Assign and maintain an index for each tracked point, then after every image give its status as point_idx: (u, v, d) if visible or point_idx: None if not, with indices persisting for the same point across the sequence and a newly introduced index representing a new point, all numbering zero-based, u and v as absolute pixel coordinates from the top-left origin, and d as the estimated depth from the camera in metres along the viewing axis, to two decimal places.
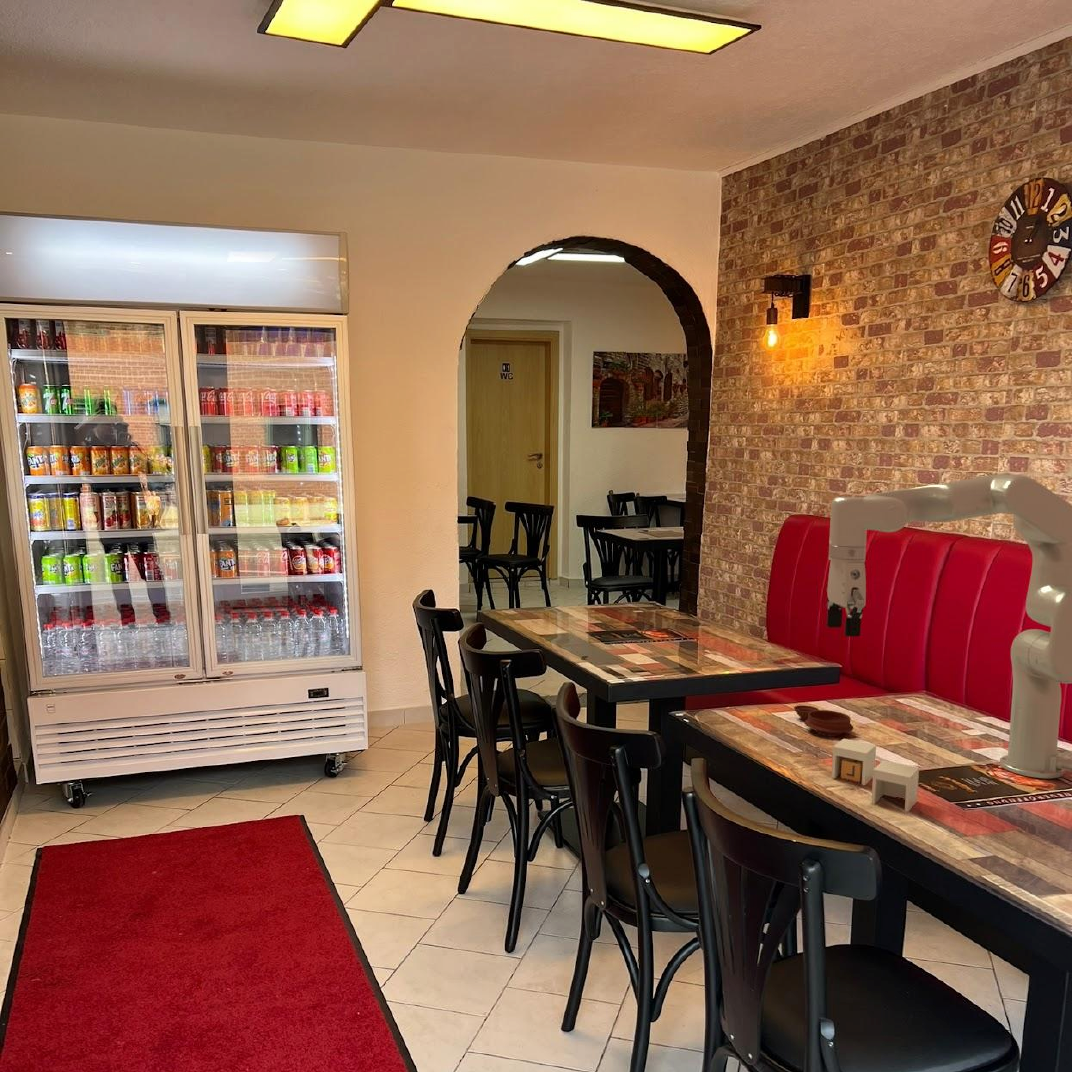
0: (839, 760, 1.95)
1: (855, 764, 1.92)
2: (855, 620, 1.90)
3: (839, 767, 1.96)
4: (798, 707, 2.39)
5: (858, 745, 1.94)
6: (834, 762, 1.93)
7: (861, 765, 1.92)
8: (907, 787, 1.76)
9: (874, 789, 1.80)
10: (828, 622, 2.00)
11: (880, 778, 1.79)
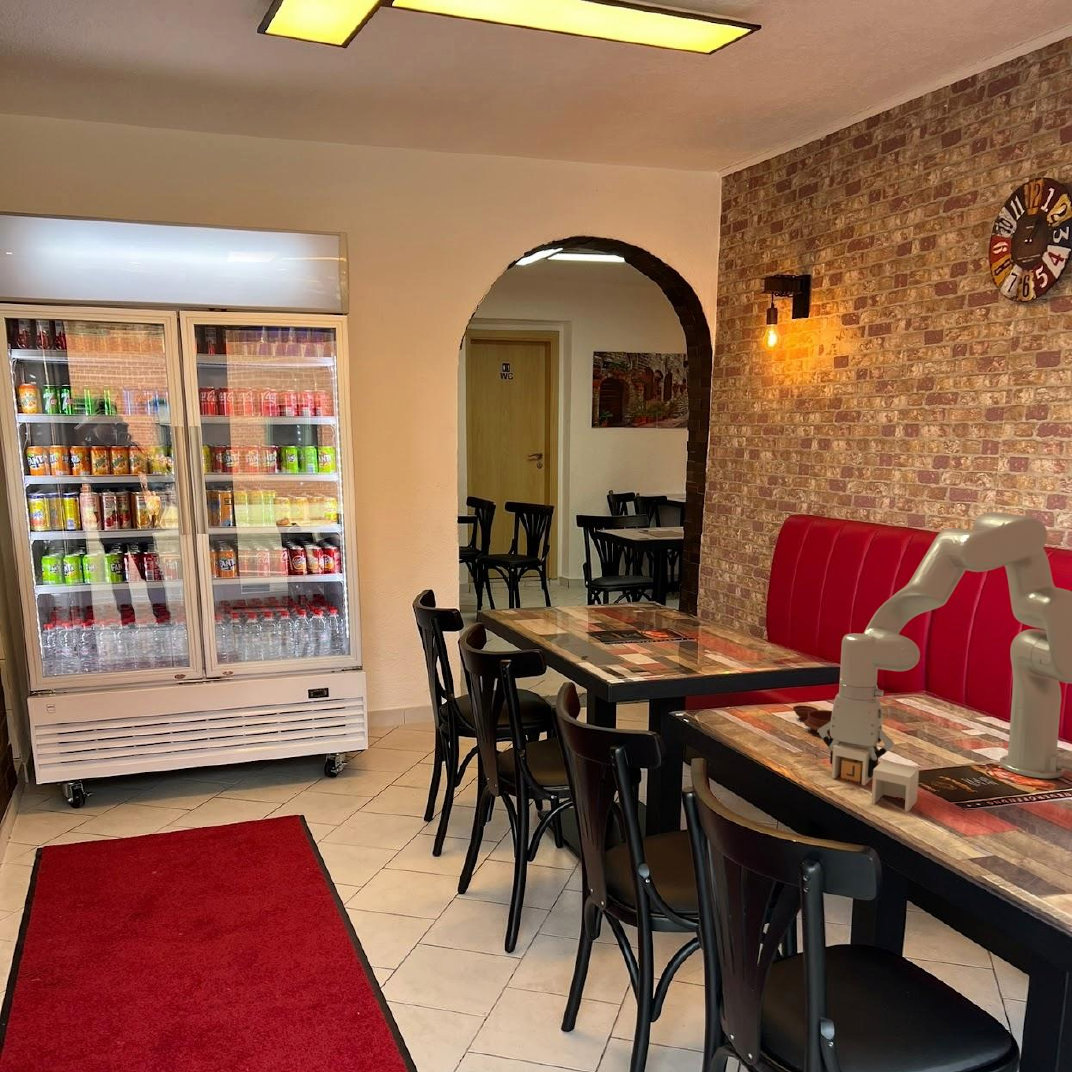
0: (838, 760, 1.95)
1: (855, 764, 1.92)
2: (877, 760, 1.91)
3: (839, 767, 1.96)
4: (797, 707, 2.39)
5: (858, 746, 1.94)
6: (834, 762, 1.93)
7: (861, 765, 1.92)
8: (907, 787, 1.76)
9: (874, 789, 1.80)
10: None
11: (880, 778, 1.79)
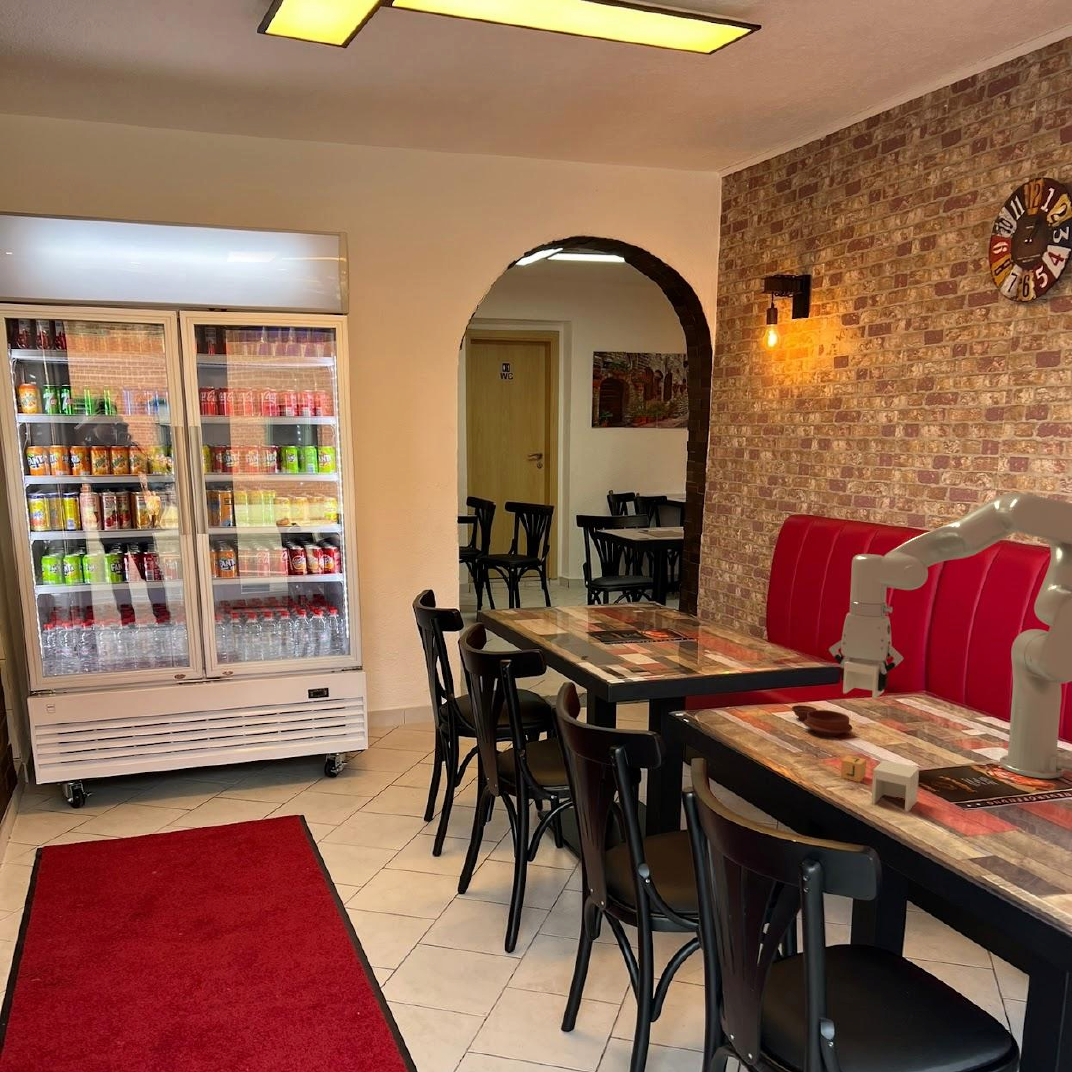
0: (849, 676, 2.03)
1: (855, 764, 1.92)
2: (886, 675, 2.00)
3: (850, 683, 2.04)
4: (796, 707, 2.39)
5: (868, 662, 2.02)
6: (845, 677, 2.01)
7: (862, 765, 1.92)
8: (907, 787, 1.76)
9: (874, 789, 1.80)
10: None
11: (880, 778, 1.79)
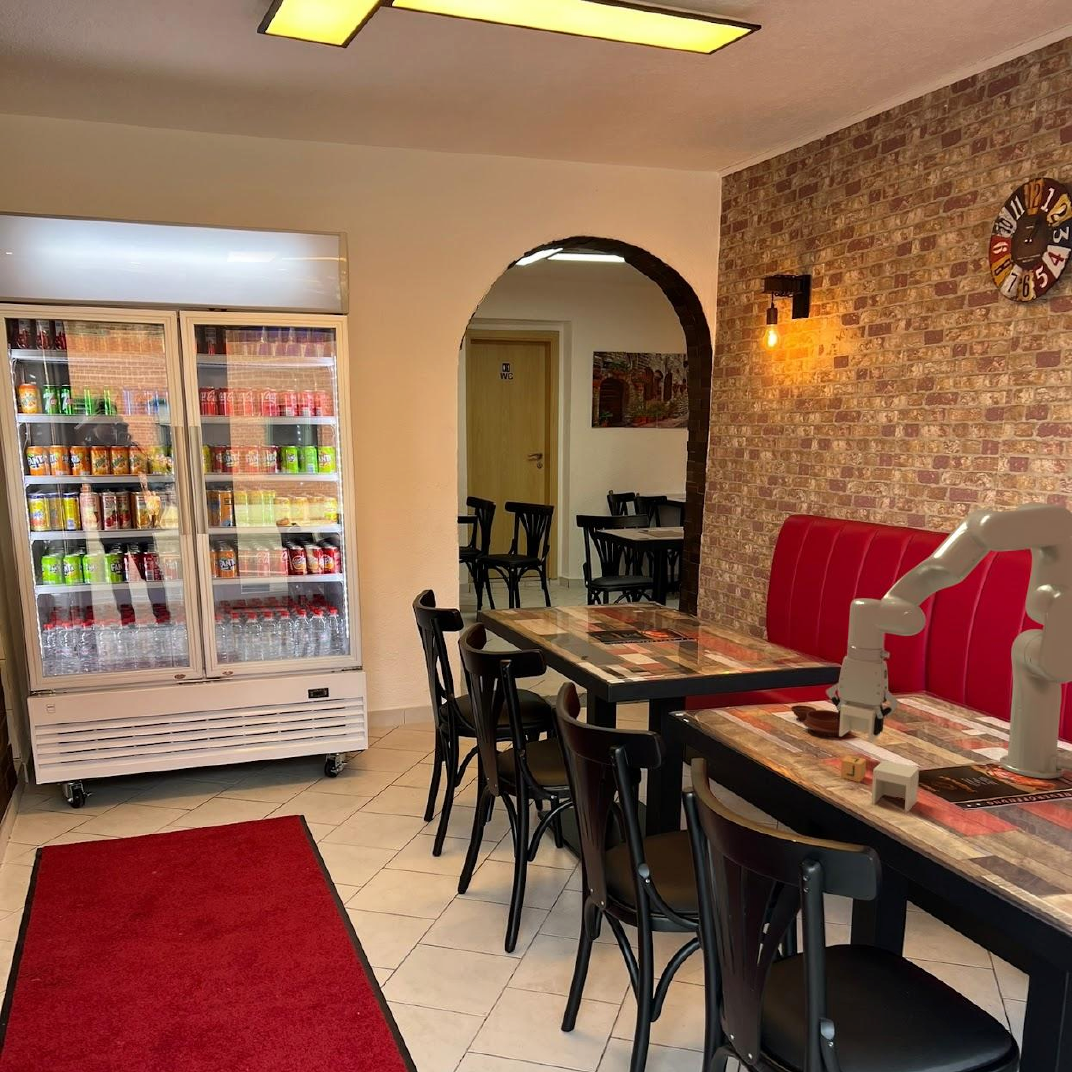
0: (846, 719, 2.05)
1: (855, 764, 1.92)
2: (882, 719, 2.01)
3: (846, 726, 2.05)
4: (795, 707, 2.39)
5: (864, 705, 2.03)
6: (841, 721, 2.03)
7: (862, 765, 1.92)
8: (907, 787, 1.76)
9: (874, 789, 1.80)
10: None
11: (880, 778, 1.79)
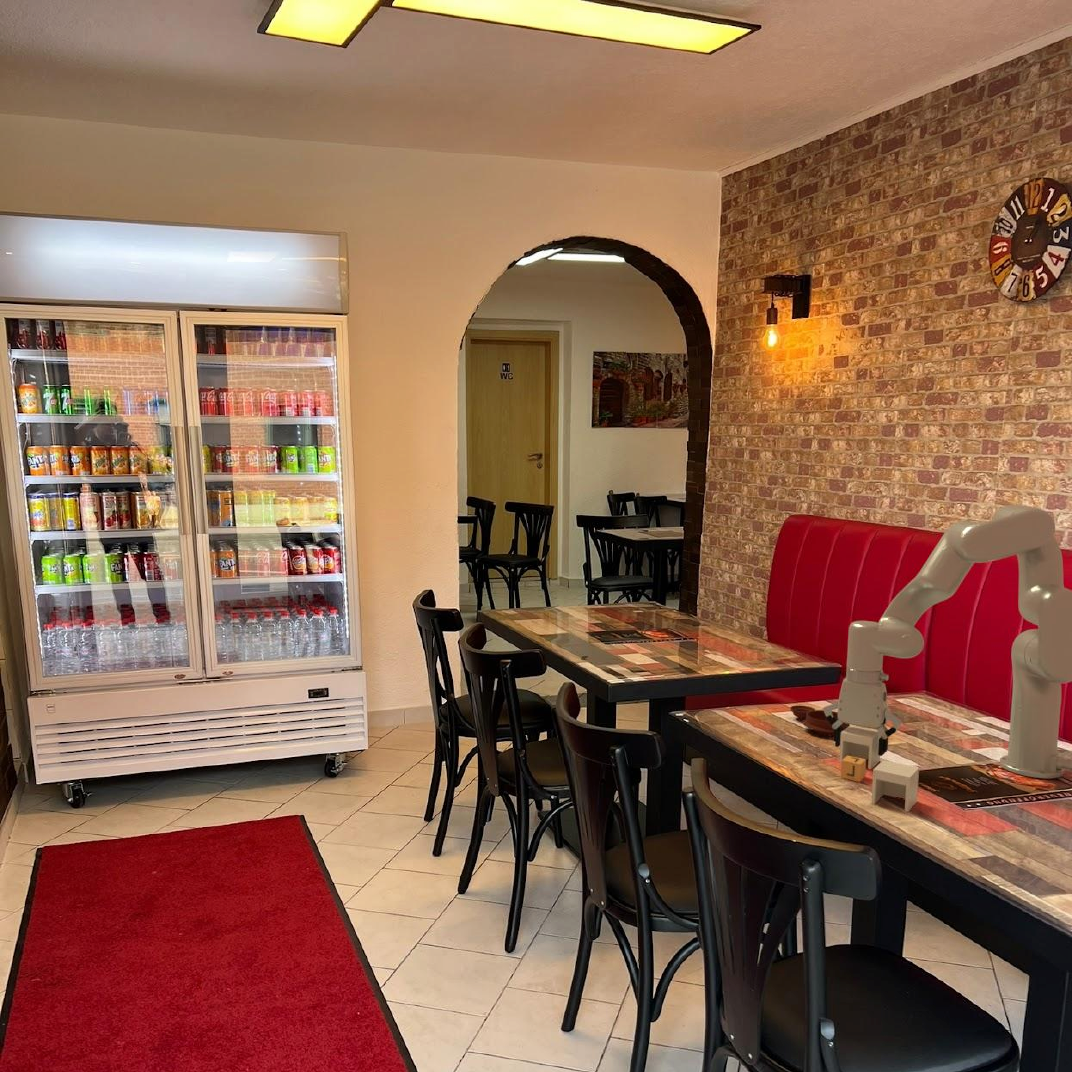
0: (846, 746, 2.05)
1: (855, 764, 1.92)
2: (887, 739, 2.00)
3: (846, 752, 2.06)
4: (794, 707, 2.38)
5: (864, 731, 2.04)
6: (841, 747, 2.03)
7: (861, 765, 1.92)
8: (907, 787, 1.76)
9: (874, 789, 1.80)
10: (837, 742, 2.06)
11: (880, 778, 1.79)
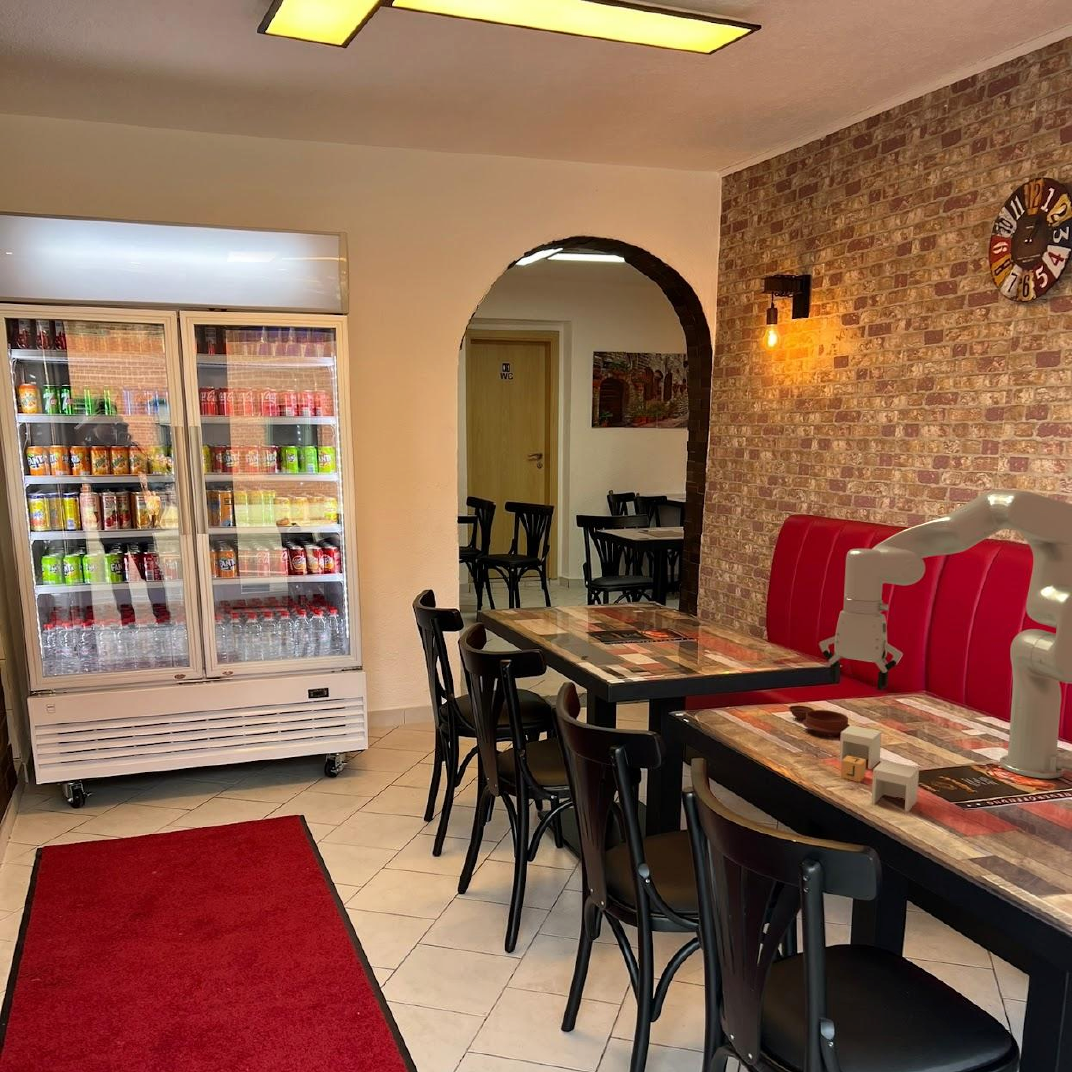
0: (846, 746, 2.05)
1: (855, 764, 1.92)
2: (887, 673, 1.89)
3: (846, 752, 2.06)
4: (792, 707, 2.38)
5: (864, 732, 2.04)
6: (841, 747, 2.03)
7: (862, 765, 1.92)
8: (907, 787, 1.76)
9: (874, 789, 1.80)
10: (834, 678, 1.94)
11: (880, 778, 1.79)
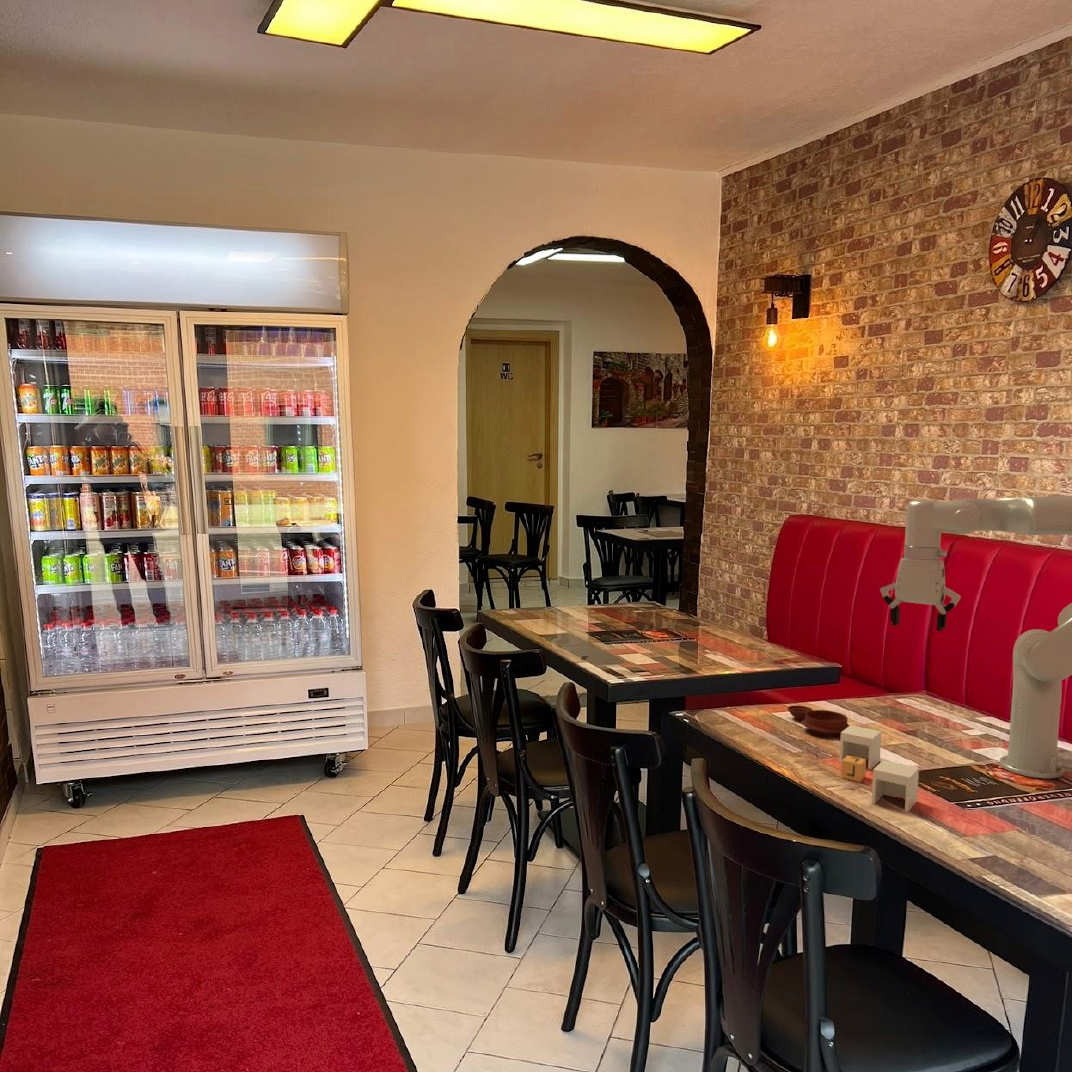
0: (846, 746, 2.05)
1: (855, 764, 1.92)
2: (945, 615, 2.03)
3: (846, 752, 2.06)
4: (791, 707, 2.38)
5: (864, 732, 2.04)
6: (841, 747, 2.03)
7: (862, 765, 1.92)
8: (907, 787, 1.76)
9: (874, 789, 1.80)
10: (895, 621, 2.08)
11: (880, 778, 1.79)
